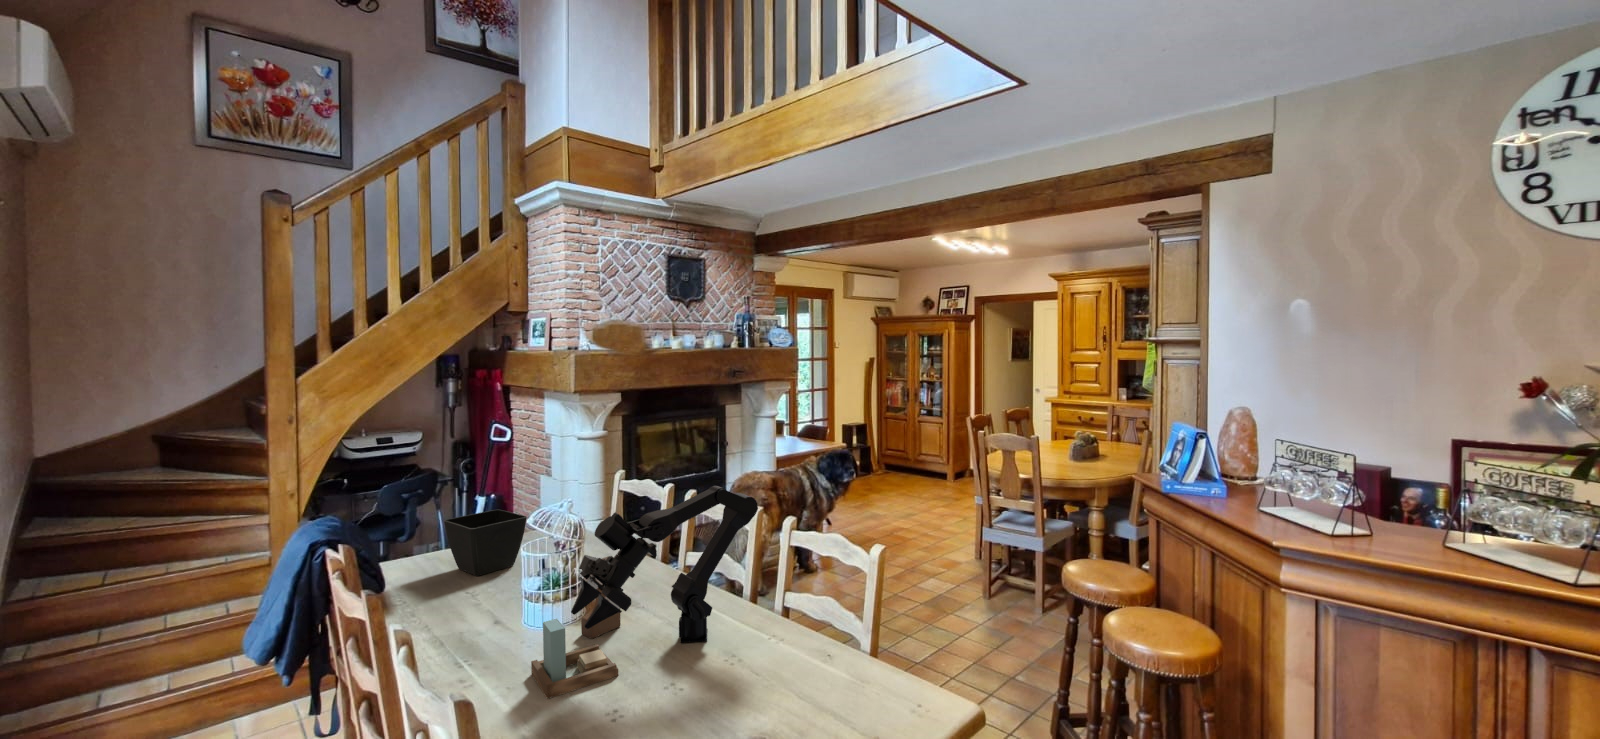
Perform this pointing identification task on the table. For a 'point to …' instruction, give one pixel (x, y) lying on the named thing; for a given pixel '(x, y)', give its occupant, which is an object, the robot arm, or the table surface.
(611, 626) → the wooden block
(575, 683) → the rack
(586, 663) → the offcut stack
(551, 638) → the tall grey-green pillar
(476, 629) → the table surface
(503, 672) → the table surface
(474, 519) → the flower pot
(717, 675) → the table surface
